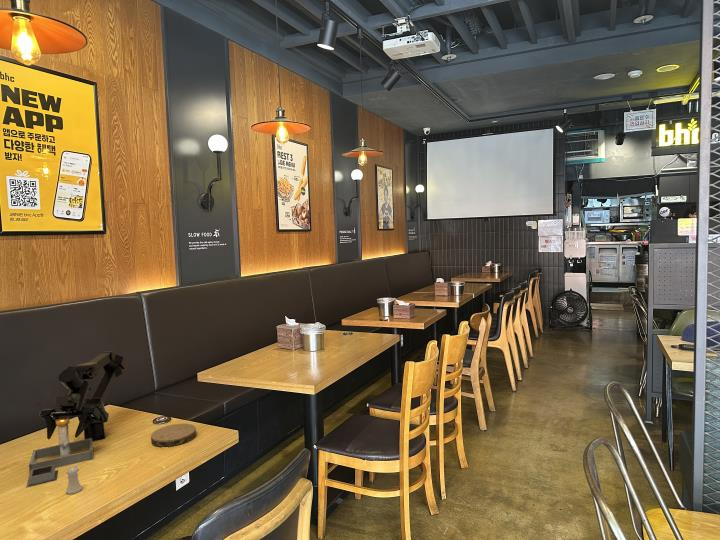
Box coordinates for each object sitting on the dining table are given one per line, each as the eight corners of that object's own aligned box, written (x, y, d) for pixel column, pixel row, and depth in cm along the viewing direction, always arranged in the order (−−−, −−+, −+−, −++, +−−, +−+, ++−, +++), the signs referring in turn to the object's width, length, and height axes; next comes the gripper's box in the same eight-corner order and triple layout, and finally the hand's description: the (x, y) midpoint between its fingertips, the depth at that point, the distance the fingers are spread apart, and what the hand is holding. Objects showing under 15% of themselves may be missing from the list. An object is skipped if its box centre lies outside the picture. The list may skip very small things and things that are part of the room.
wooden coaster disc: (169, 451, 170) (168, 443, 170) (142, 443, 179) (141, 435, 178) (205, 435, 184) (204, 427, 183) (178, 428, 192) (177, 421, 192)
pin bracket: (58, 473, 157) (57, 462, 157) (57, 483, 150) (56, 472, 150) (29, 479, 153) (28, 469, 153) (26, 490, 146) (25, 479, 146)
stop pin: (72, 456, 167) (69, 416, 166) (72, 460, 164) (69, 419, 163) (59, 459, 165) (55, 418, 164) (58, 464, 162) (55, 422, 161)
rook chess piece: (70, 490, 145) (68, 465, 144) (85, 489, 145) (83, 464, 145) (62, 498, 140) (60, 472, 140) (78, 497, 141) (76, 471, 140)
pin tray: (92, 448, 175) (92, 437, 175) (93, 461, 164) (92, 450, 164) (34, 461, 166) (33, 450, 166) (30, 476, 155) (29, 464, 155)
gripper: (39, 386, 167) (21, 430, 156) (93, 383, 167) (79, 426, 157) (54, 401, 175) (38, 443, 165) (106, 398, 176) (93, 439, 165)
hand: (62, 438), depth 163 cm, fingers open, 9 cm apart
